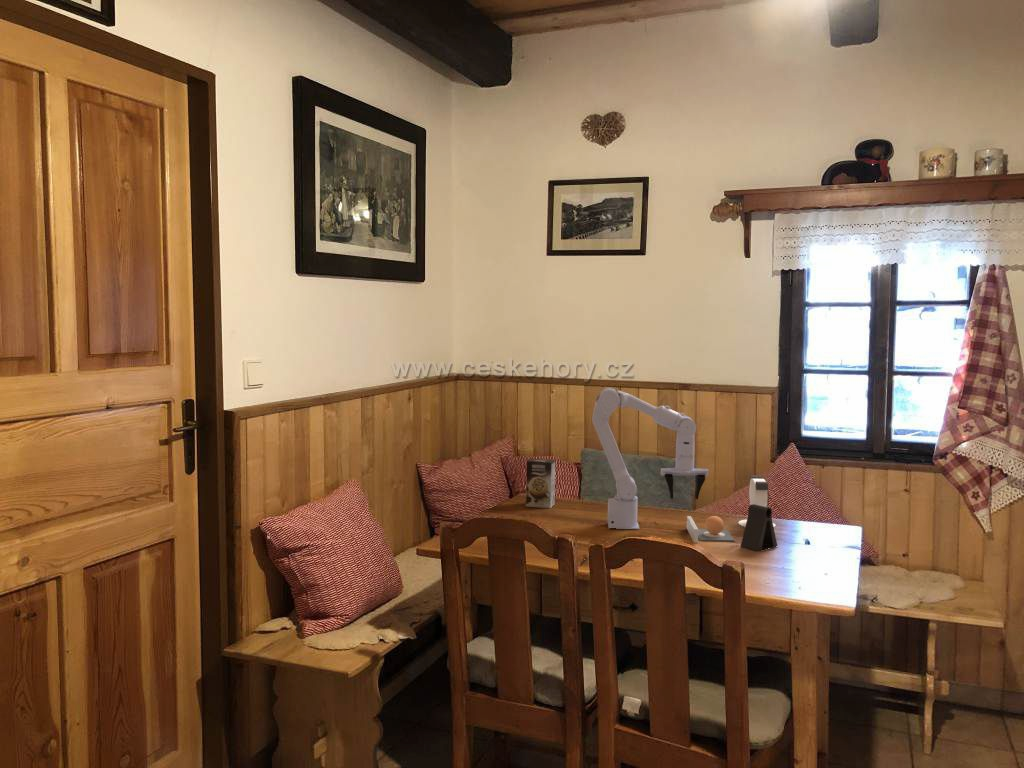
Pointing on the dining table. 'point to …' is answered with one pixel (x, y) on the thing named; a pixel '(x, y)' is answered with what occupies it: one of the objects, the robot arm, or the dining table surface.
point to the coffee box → (540, 483)
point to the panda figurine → (757, 494)
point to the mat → (715, 536)
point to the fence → (692, 529)
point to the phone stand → (759, 529)
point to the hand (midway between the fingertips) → (684, 498)
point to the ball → (714, 525)
